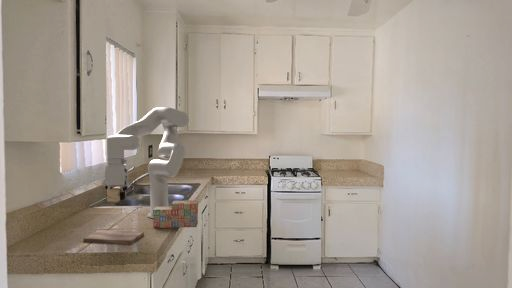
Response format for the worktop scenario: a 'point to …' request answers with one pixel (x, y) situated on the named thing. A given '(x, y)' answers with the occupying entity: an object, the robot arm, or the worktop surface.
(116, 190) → the block
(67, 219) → the worktop surface
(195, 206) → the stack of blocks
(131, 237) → the board
